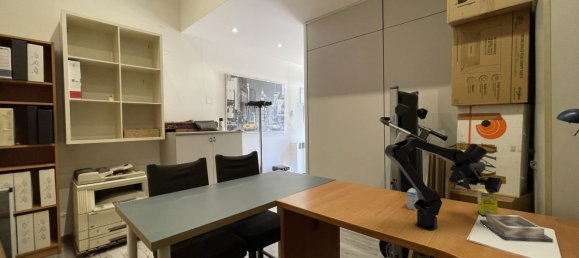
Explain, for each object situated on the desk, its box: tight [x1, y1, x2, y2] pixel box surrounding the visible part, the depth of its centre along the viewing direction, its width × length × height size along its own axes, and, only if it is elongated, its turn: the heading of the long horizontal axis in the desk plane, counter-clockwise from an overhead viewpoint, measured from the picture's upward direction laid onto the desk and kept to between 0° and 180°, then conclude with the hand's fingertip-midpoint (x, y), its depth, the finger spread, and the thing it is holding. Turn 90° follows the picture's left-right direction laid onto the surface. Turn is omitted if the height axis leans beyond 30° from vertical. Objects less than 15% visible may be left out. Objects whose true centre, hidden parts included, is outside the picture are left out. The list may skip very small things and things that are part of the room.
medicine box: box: [406, 187, 418, 211], centre depth 124 cm, size 8×4×9 cm, turn 141°
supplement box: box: [477, 188, 499, 217], centre depth 111 cm, size 6×6×11 cm
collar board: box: [479, 214, 554, 243], centre depth 94 cm, size 15×15×4 cm
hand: (481, 191), depth 108 cm, fingers open, 9 cm apart
